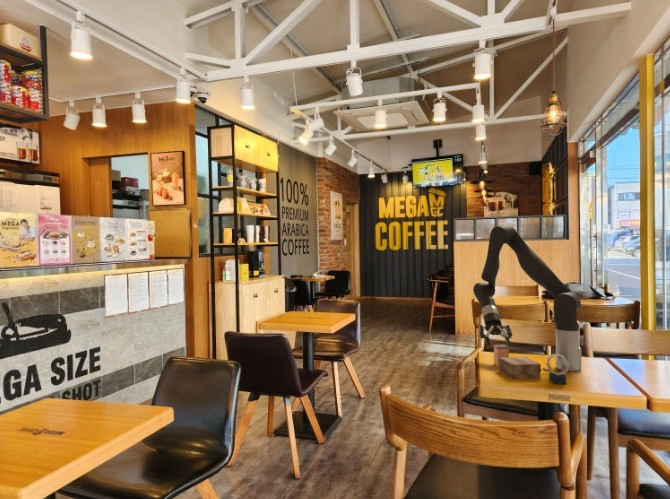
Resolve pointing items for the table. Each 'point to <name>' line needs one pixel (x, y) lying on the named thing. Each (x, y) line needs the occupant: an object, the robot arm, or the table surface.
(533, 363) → the walnut block
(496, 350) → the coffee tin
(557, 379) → the watch
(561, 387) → the table surface
